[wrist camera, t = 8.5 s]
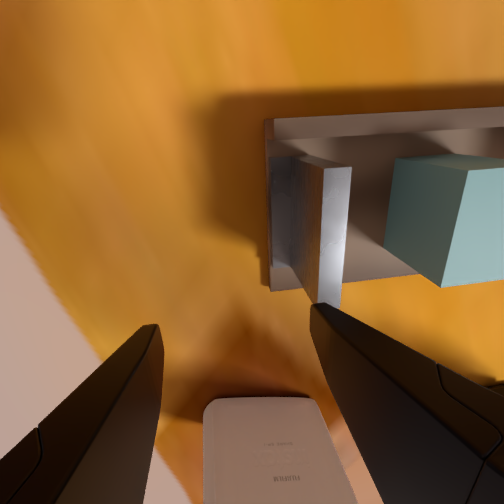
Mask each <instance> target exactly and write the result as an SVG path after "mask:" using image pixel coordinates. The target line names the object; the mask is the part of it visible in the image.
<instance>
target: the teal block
mask: <svg viewBox="0 0 504 504" xmlns="http://www.w3.org/2000/svg"><path fill="white" fill-rule="evenodd" d="M383 248H384V249H385V250H387V251H388V252H390V253H391V254H393V255H394V256H395V257H397V258H398V259H400V260H401V261H403V262H404V263H406V264H407V265H408V266H410V267H411V268H413V269H414V270H416V271H417V272H419V273H420V274H422V275H423V276H424V277H426V278H427V279H429V280H430V281H432V282H433V283H435V284H436V285H437V286H439V287H440V288H442V287H450V286H457V285H465V284H472V283H480V282H488V281H495V280H503V279H504V159H499V158H490V157H481V156H473V155H464V154H442V155H429V156H416V157H403V158H395V165H394V172H393V179H392V186H391V194H390V201H389V208H388V215H387V223H386V230H385V237H384V244H383Z"/></svg>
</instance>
